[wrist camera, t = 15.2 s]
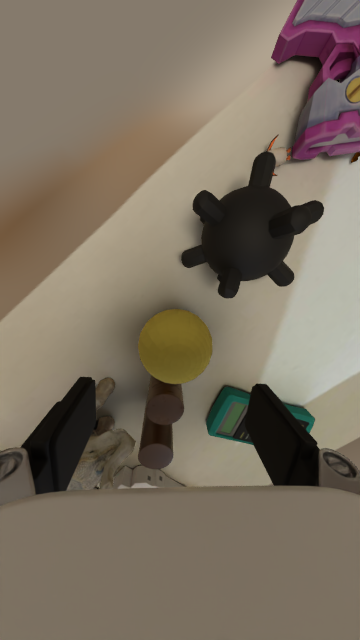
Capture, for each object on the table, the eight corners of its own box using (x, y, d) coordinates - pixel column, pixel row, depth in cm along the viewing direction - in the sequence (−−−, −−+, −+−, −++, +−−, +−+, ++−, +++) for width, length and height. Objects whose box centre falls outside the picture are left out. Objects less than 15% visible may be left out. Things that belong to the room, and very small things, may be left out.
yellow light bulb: (165, 355, 24) (164, 415, 15) (135, 315, 23) (112, 353, 13) (209, 329, 24) (237, 374, 14) (181, 285, 22) (192, 303, 12)
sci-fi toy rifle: (135, 454, 30) (255, 523, 37) (111, 477, 31) (233, 541, 38) (131, 479, 26) (264, 550, 33) (104, 505, 27) (240, 569, 34)
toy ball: (151, 175, 16) (310, 87, 12) (191, 256, 25) (288, 219, 21) (160, 273, 11) (415, 178, 8) (205, 328, 20) (331, 296, 17)
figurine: (142, 408, 31) (161, 524, 17) (50, 447, 28) (-13, 624, 14) (123, 362, 27) (128, 463, 14) (16, 401, 24) (-112, 579, 11)
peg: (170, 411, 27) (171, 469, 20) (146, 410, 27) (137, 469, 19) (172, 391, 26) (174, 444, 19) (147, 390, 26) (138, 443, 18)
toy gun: (281, 141, 15) (411, 123, 15) (286, -45, 13) (440, -79, 12) (266, 165, 19) (372, 151, 18) (267, 18, 16) (389, -6, 16)
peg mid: (177, 376, 26) (182, 425, 18) (151, 375, 25) (144, 424, 18) (180, 353, 25) (186, 394, 17) (153, 352, 24) (146, 393, 17)
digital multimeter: (284, 441, 31) (296, 459, 28) (203, 421, 28) (207, 439, 25) (307, 407, 29) (323, 422, 26) (222, 382, 26) (229, 396, 24)
